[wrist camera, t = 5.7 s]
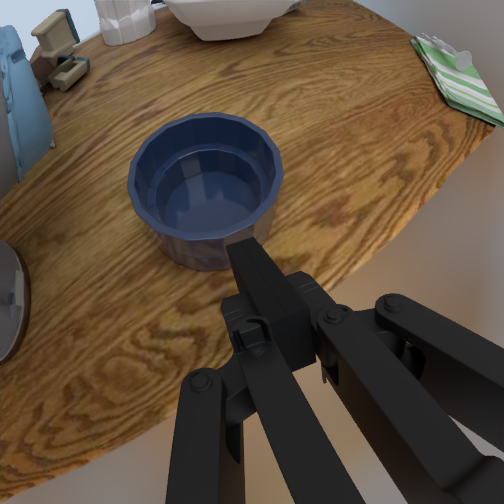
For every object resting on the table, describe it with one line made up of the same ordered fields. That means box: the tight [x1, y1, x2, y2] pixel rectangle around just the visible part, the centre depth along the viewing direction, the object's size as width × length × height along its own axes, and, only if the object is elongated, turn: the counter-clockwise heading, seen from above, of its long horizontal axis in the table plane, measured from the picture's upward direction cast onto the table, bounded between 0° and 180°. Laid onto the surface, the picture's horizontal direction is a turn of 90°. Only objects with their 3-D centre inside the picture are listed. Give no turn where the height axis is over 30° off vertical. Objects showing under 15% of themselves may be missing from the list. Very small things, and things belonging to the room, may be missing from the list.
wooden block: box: [29, 45, 59, 81], centre depth 32 cm, size 4×4×8 cm
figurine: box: [421, 33, 472, 71], centre depth 41 cm, size 5×5×12 cm
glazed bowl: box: [127, 112, 284, 271], centre depth 26 cm, size 12×12×8 cm
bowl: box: [163, 0, 295, 41], centre depth 36 cm, size 22×22×12 cm
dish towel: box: [410, 35, 504, 128], centre depth 41 cm, size 18×23×3 cm
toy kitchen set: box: [31, 9, 90, 92], centre depth 32 cm, size 18×14×11 cm
